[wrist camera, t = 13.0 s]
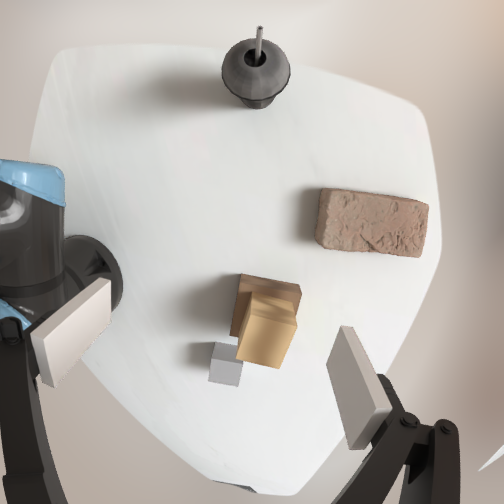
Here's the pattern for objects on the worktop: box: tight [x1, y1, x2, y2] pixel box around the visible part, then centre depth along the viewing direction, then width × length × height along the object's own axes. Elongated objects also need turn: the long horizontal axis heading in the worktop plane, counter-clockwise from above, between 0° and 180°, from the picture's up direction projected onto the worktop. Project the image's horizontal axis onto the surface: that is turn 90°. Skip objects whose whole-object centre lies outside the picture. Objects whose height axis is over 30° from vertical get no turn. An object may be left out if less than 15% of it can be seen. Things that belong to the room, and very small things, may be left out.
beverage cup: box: [222, 26, 291, 109], centre depth 28 cm, size 7×7×20 cm
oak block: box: [236, 291, 297, 369], centre depth 40 cm, size 6×7×7 cm
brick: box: [315, 188, 429, 258], centre depth 41 cm, size 17×8×5 cm, turn 86°
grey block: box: [208, 342, 243, 387], centre depth 47 cm, size 5×5×5 cm
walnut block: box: [229, 274, 302, 337], centre depth 45 cm, size 9×9×4 cm
